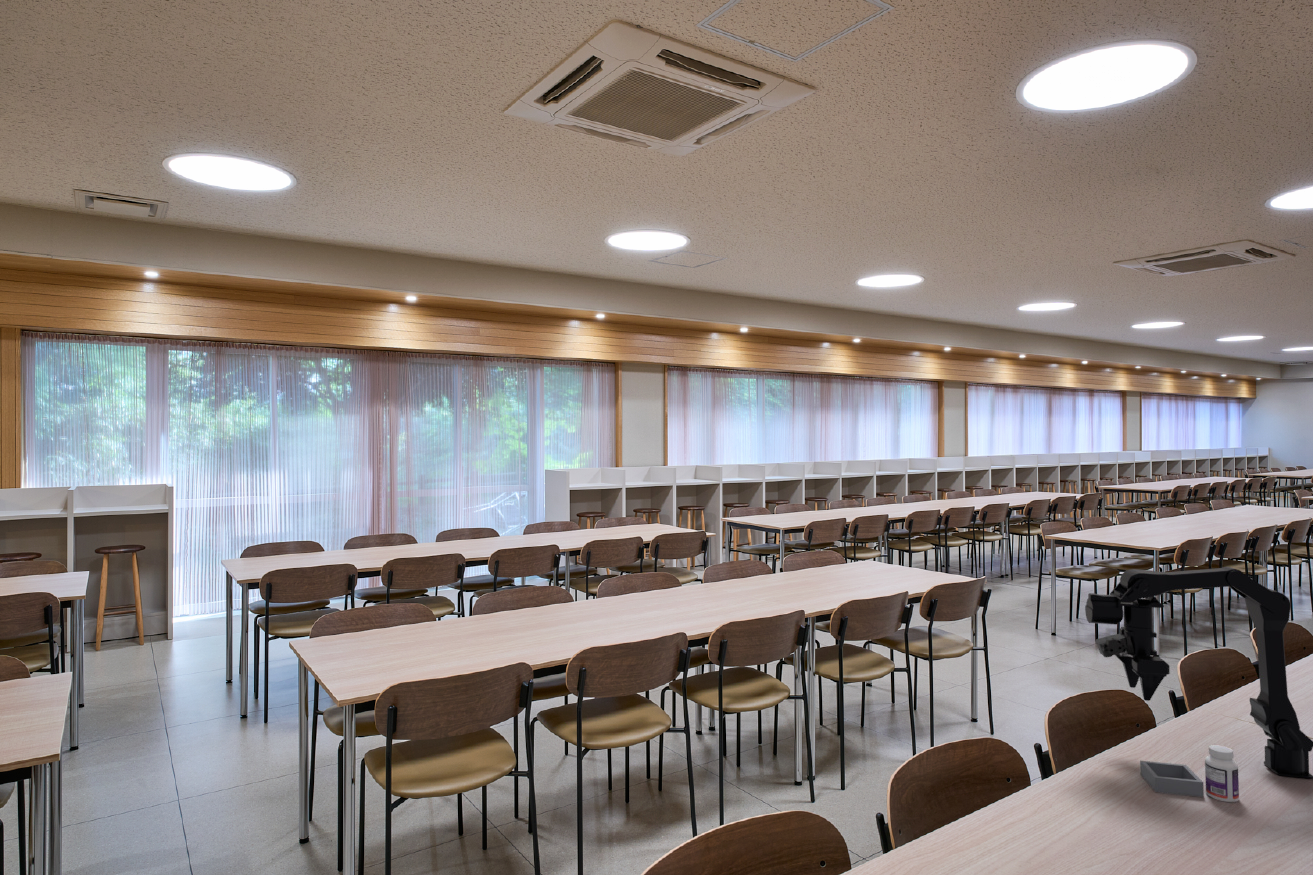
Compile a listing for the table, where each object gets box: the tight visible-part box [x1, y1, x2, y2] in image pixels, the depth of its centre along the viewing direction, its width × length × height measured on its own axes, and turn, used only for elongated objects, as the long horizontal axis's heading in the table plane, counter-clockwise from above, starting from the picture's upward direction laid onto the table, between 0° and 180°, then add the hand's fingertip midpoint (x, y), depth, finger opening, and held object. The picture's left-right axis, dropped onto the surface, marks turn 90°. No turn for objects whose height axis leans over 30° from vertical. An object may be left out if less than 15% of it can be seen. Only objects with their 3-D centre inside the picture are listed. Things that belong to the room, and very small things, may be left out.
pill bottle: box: [1204, 744, 1240, 803], centre depth 150 cm, size 5×5×10 cm
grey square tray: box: [1139, 760, 1205, 798], centre depth 155 cm, size 9×9×3 cm
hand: (1139, 693), depth 169 cm, fingers open, 9 cm apart
